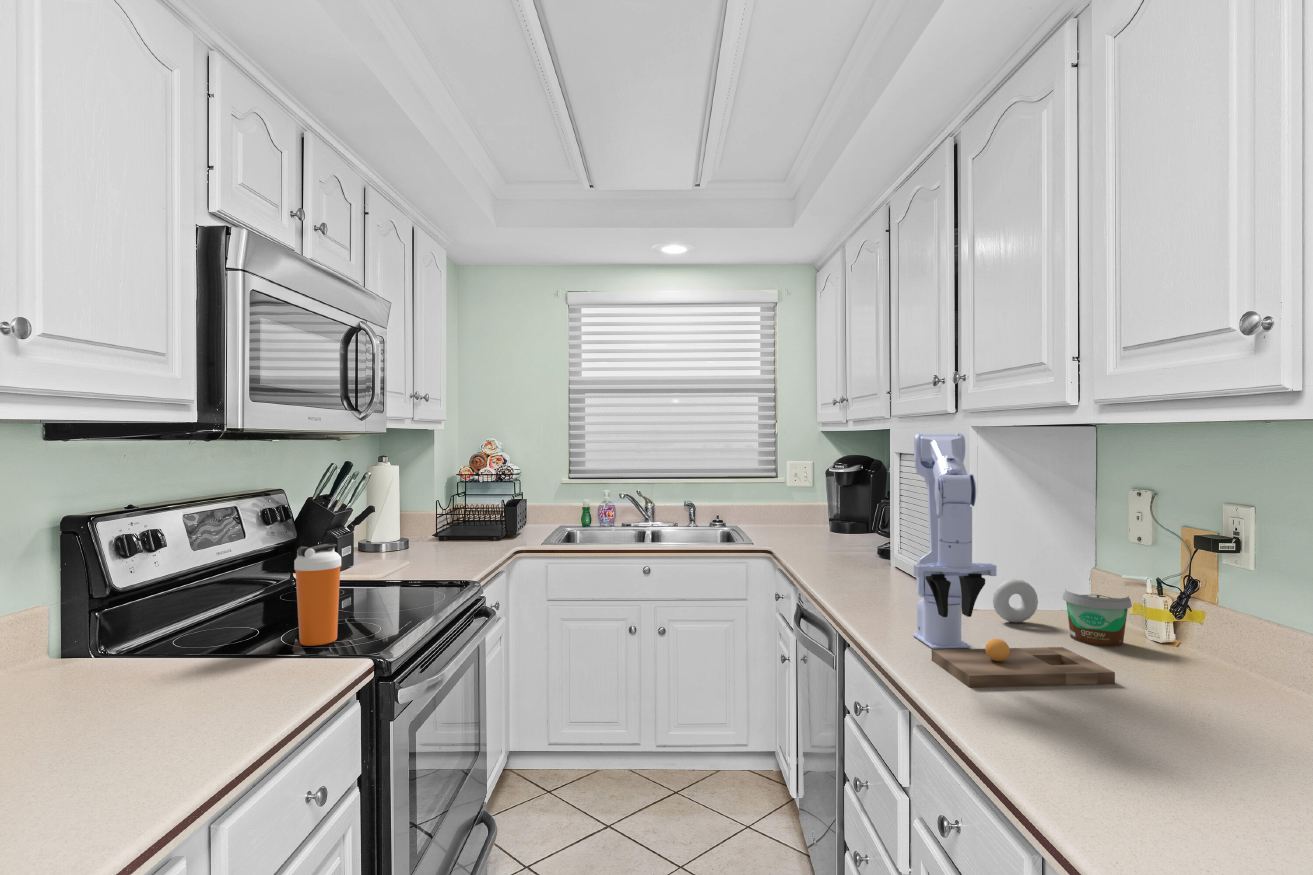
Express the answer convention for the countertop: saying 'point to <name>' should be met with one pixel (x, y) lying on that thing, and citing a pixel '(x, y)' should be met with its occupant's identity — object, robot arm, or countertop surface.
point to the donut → (1027, 603)
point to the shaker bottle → (317, 593)
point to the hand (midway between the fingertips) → (954, 615)
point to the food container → (1097, 618)
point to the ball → (997, 649)
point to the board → (1022, 667)
